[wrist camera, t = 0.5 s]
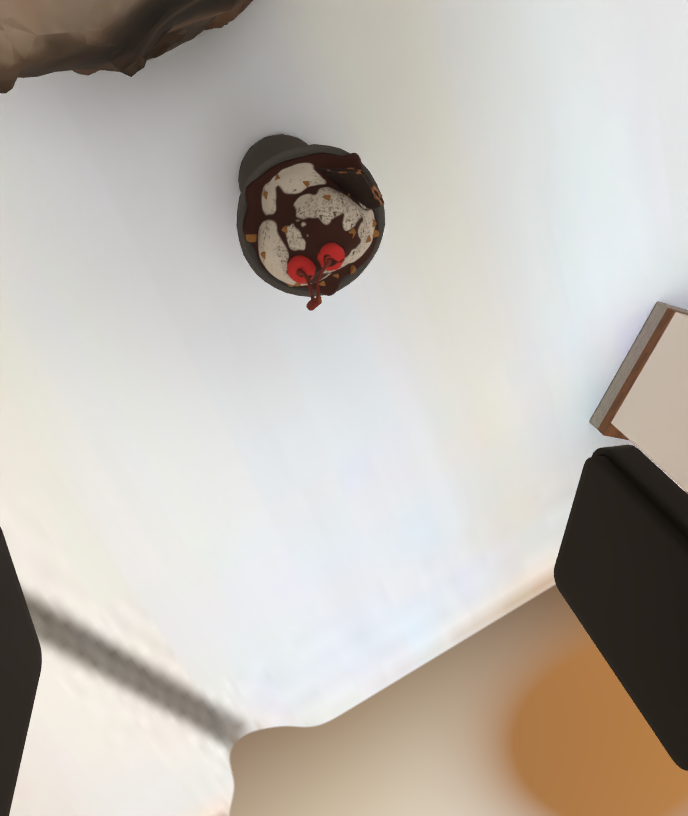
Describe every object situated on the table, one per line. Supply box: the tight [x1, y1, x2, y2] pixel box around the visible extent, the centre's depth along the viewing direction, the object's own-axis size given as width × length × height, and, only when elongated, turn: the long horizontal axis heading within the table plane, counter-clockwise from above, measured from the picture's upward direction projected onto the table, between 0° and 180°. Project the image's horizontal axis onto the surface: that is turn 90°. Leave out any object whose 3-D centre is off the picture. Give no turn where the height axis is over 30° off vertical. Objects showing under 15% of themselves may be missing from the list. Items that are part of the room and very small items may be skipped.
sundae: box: [237, 134, 385, 310], centre depth 30 cm, size 7×7×15 cm
